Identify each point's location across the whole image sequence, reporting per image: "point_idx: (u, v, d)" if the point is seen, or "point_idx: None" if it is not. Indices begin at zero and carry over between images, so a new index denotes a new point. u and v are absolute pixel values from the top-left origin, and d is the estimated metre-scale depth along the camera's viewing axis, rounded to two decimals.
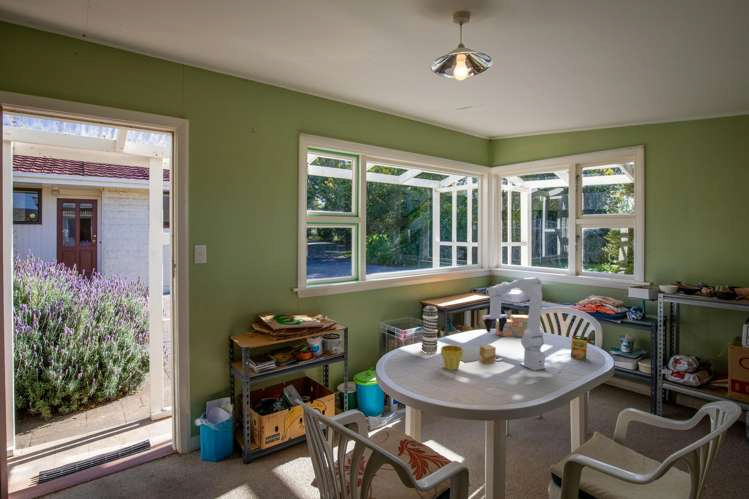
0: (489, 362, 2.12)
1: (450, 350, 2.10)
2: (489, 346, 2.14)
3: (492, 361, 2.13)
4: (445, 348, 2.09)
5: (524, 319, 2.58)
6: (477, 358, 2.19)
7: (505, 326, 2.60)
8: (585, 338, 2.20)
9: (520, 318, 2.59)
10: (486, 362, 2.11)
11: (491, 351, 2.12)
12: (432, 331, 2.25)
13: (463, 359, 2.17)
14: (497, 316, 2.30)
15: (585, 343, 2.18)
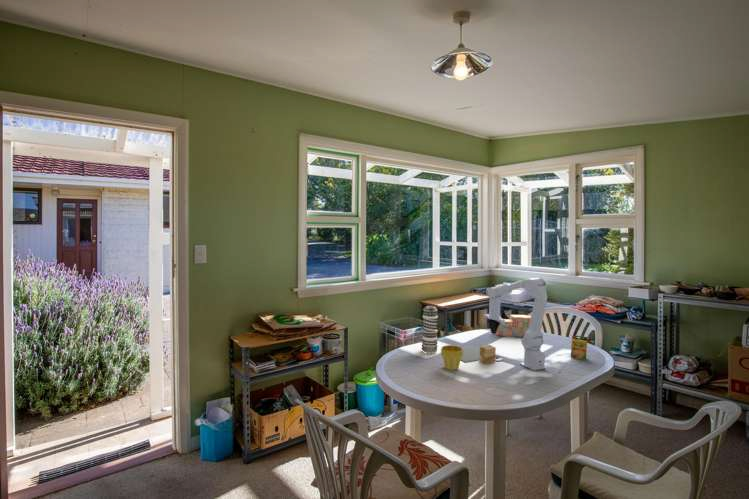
0: (489, 362, 2.12)
1: (450, 350, 2.10)
2: (489, 346, 2.14)
3: (492, 361, 2.13)
4: (445, 348, 2.09)
5: (524, 319, 2.58)
6: (477, 358, 2.19)
7: (505, 326, 2.60)
8: (585, 338, 2.20)
9: (520, 318, 2.59)
10: (486, 362, 2.11)
11: (491, 351, 2.12)
12: (432, 331, 2.25)
13: (463, 359, 2.17)
14: (489, 317, 2.27)
15: (585, 343, 2.18)
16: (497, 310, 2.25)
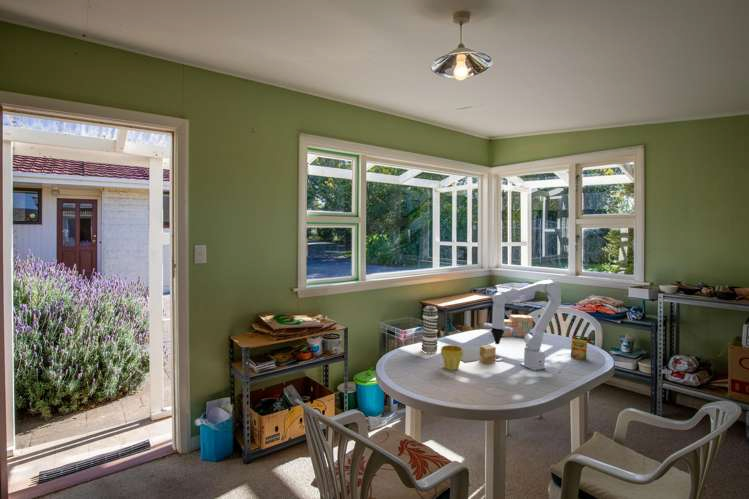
0: (489, 362, 2.12)
1: (450, 350, 2.10)
2: (489, 346, 2.14)
3: (492, 361, 2.13)
4: (445, 348, 2.09)
5: (523, 319, 2.58)
6: (477, 358, 2.19)
7: None
8: (585, 338, 2.20)
9: (519, 318, 2.59)
10: (486, 362, 2.11)
11: (491, 351, 2.12)
12: (432, 331, 2.25)
13: (463, 359, 2.17)
14: (495, 326, 2.08)
15: (585, 343, 2.18)
16: (503, 318, 2.08)
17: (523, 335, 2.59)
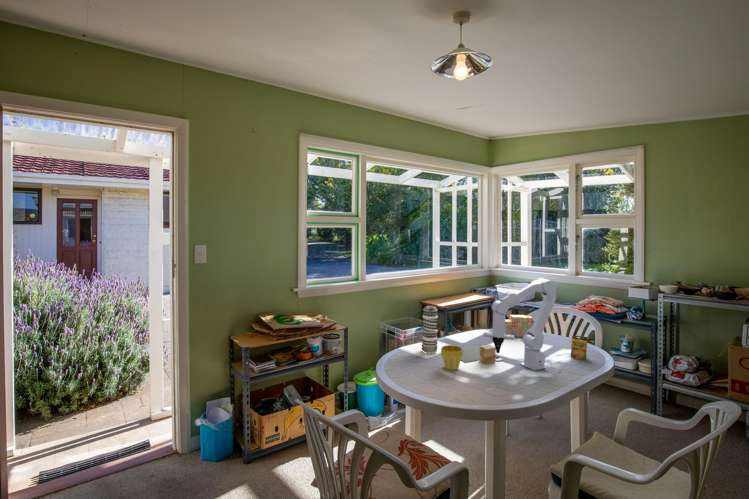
0: (489, 362, 2.12)
1: (450, 350, 2.10)
2: (489, 346, 2.14)
3: (492, 361, 2.13)
4: (445, 348, 2.09)
5: (523, 319, 2.58)
6: (477, 358, 2.19)
7: None
8: (585, 338, 2.20)
9: (519, 318, 2.59)
10: (486, 362, 2.11)
11: (491, 351, 2.12)
12: (432, 331, 2.25)
13: (463, 359, 2.17)
14: (497, 335, 2.03)
15: (585, 343, 2.18)
16: (504, 326, 2.04)
17: (523, 335, 2.59)
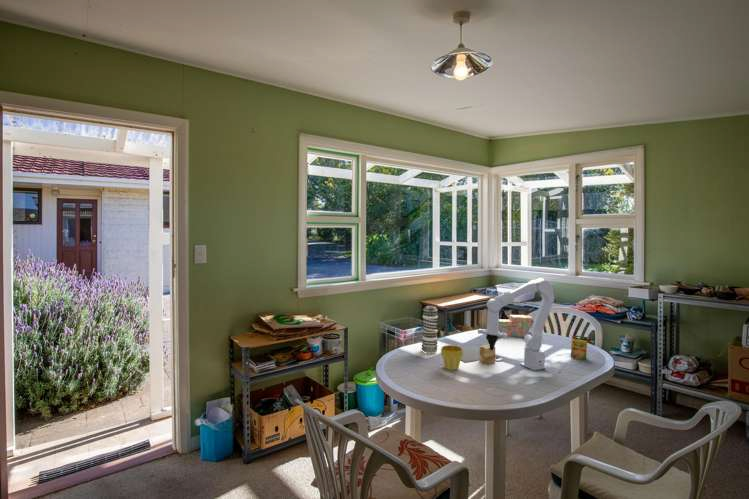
0: (489, 362, 2.12)
1: (450, 350, 2.10)
2: (489, 346, 2.14)
3: (492, 361, 2.13)
4: (445, 348, 2.09)
5: (523, 319, 2.58)
6: (477, 358, 2.19)
7: (504, 326, 2.60)
8: (585, 338, 2.20)
9: (519, 318, 2.59)
10: (486, 362, 2.11)
11: (491, 351, 2.12)
12: (432, 331, 2.25)
13: (463, 359, 2.17)
14: (489, 332, 2.08)
15: (585, 343, 2.18)
16: (498, 324, 2.08)
17: (523, 335, 2.59)
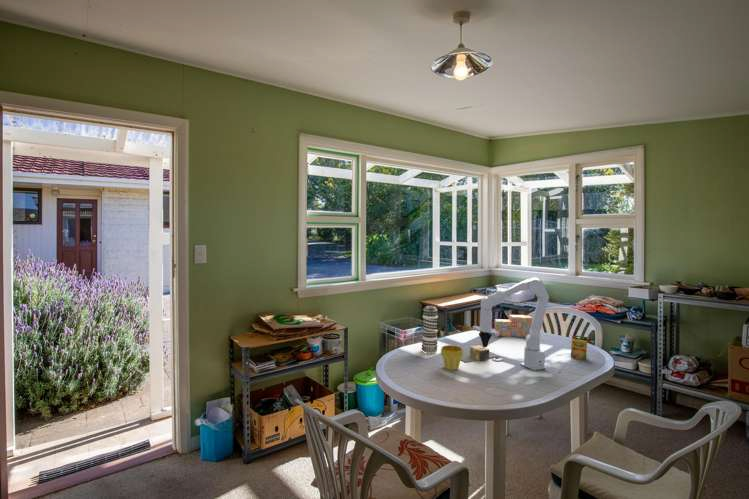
0: (482, 349, 2.17)
1: (450, 350, 2.10)
2: None
3: (485, 349, 2.18)
4: (445, 348, 2.09)
5: (523, 319, 2.58)
6: None
7: (504, 326, 2.59)
8: (585, 338, 2.20)
9: (519, 318, 2.59)
10: (479, 350, 2.16)
11: (477, 346, 2.22)
12: (432, 331, 2.25)
13: (463, 359, 2.17)
14: (482, 329, 2.13)
15: (585, 343, 2.18)
16: (490, 322, 2.12)
17: (522, 335, 2.59)
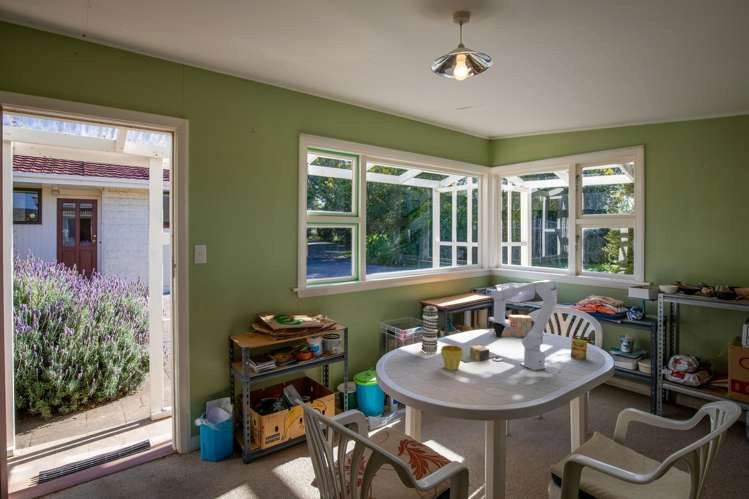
0: (482, 349, 2.17)
1: (450, 350, 2.10)
2: None
3: (485, 349, 2.18)
4: (445, 348, 2.09)
5: (522, 319, 2.58)
6: None
7: None
8: (585, 338, 2.20)
9: (518, 318, 2.59)
10: (479, 350, 2.16)
11: (477, 346, 2.22)
12: (432, 331, 2.25)
13: (463, 359, 2.17)
14: (494, 320, 2.21)
15: (585, 343, 2.18)
16: (502, 313, 2.19)
17: (522, 335, 2.59)
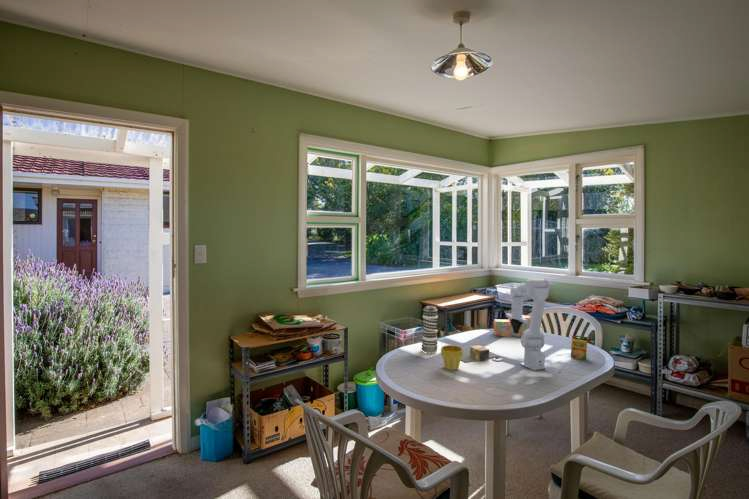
0: (482, 349, 2.17)
1: (450, 350, 2.10)
2: None
3: (485, 349, 2.18)
4: (445, 348, 2.09)
5: None
6: None
7: (503, 326, 2.59)
8: (585, 338, 2.20)
9: None
10: (479, 350, 2.16)
11: (477, 346, 2.22)
12: (432, 331, 2.25)
13: (463, 359, 2.17)
14: (512, 316, 2.28)
15: (585, 343, 2.18)
16: (520, 310, 2.26)
17: (521, 335, 2.59)
